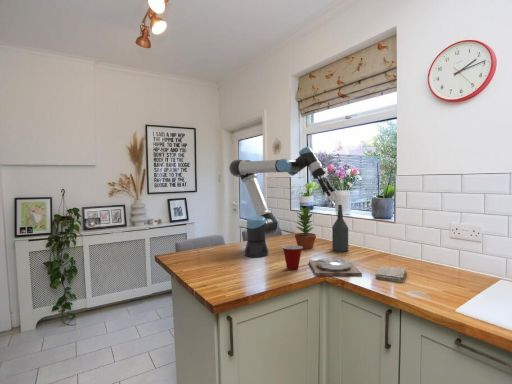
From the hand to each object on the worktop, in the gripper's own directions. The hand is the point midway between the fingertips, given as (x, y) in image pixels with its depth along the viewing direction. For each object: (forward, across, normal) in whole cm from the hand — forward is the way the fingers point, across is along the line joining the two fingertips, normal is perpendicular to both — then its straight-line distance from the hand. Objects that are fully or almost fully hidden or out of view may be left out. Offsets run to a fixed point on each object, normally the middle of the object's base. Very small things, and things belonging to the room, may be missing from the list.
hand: (335, 201), depth 165 cm
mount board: (+31, -15, +17) cm, 39 cm away
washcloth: (+46, -13, -6) cm, 48 cm away
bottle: (+26, +28, +19) cm, 43 cm away
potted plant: (+14, +26, +39) cm, 49 cm away
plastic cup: (+22, -23, +34) cm, 46 cm away
